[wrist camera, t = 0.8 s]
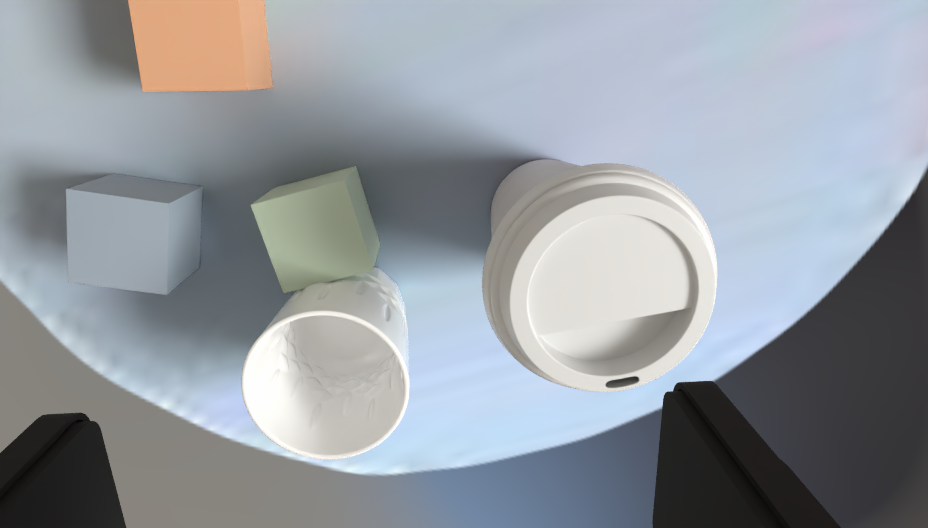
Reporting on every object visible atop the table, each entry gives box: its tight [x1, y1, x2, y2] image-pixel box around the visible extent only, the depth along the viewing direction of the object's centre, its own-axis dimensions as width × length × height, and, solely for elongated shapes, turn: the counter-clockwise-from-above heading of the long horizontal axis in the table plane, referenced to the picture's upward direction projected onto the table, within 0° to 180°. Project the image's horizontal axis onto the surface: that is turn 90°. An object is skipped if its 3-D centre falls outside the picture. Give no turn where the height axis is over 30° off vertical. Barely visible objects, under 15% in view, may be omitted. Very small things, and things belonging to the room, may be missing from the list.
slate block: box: [66, 173, 203, 295], centre depth 34 cm, size 5×5×5 cm
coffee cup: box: [482, 159, 717, 392], centre depth 30 cm, size 10×10×15 cm
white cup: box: [241, 267, 409, 460], centre depth 34 cm, size 8×8×10 cm
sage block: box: [251, 166, 381, 294], centre depth 35 cm, size 5×5×5 cm
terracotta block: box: [128, 0, 273, 92], centre depth 31 cm, size 5×5×5 cm
